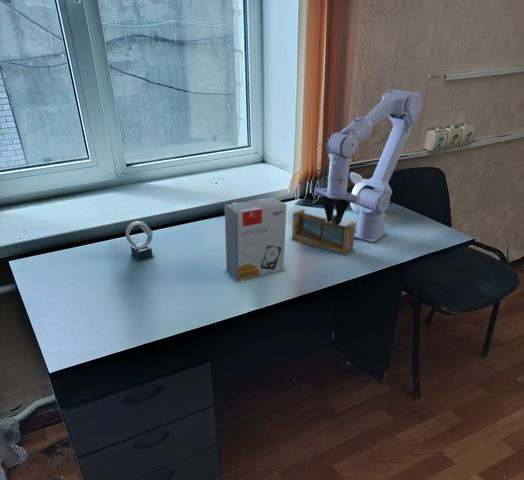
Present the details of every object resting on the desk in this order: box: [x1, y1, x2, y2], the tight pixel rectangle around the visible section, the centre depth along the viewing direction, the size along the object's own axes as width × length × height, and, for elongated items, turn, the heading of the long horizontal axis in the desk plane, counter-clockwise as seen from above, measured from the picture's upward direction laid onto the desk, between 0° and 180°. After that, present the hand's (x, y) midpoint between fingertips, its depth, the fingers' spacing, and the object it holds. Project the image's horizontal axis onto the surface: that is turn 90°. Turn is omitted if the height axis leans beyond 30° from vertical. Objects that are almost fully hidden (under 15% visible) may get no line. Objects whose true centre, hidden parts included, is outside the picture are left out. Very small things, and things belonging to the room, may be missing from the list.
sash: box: [320, 214, 346, 247], centre depth 151 cm, size 2×9×9 cm, turn 54°
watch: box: [125, 220, 154, 262], centre depth 146 cm, size 6×8×11 cm
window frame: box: [291, 208, 357, 256], centre depth 154 cm, size 5×20×9 cm, turn 54°
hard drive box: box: [224, 196, 287, 282], centre depth 136 cm, size 16×8×20 cm, turn 117°
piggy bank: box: [349, 171, 381, 215], centre depth 175 cm, size 12×12×15 cm
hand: (333, 222), depth 149 cm, fingers closed
